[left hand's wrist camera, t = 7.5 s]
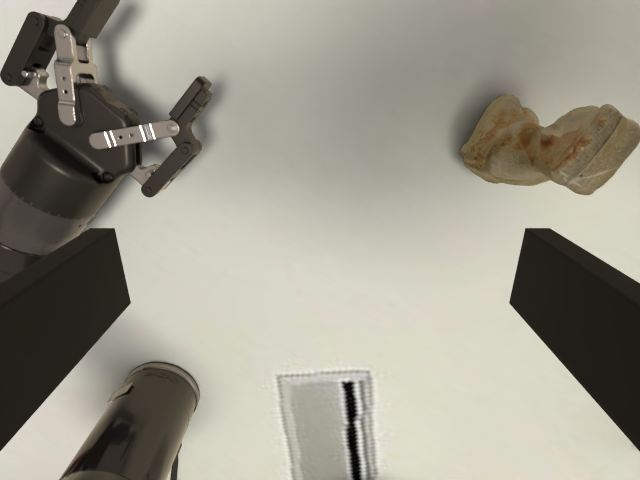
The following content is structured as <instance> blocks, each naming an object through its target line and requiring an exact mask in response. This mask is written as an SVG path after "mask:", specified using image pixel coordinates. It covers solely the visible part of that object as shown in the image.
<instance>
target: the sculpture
mask: <svg viewBox="0 0 640 480" xmlns="http://www.w3.org/2000/svg"><path fill="white" fill-rule="evenodd" d="M639 142H640V126H639V125H638V124H637V123H636V122H635V121H633V120H630V119H627V118H626V117H624V116H623V115H622V114H621V113H620V112H619V111H618V110H617V109H616V108H615V107H613V106H612V105H609V104H606V105H603V106H602V107H601V108H598V107H597V106H587V107H580V108H576V109H573V110H572V111H570V112H568V113H567V114H566V115H564V116H561V117H560V118H559V119H558V120H557V121H556V122H555V123H554V124H552V125H550V126H548V127H546V128H544V127H542V126H540V125H539V120H538V117H537V116H536V114H535V113H534V112H533V111H532V110H530V109H528V108H522V107H521V105H520V102H519V100H518V99H517V98H516V97H514V96H513V95H509V94H507V95H502V96H500V97H498V98H496V99H495V100H494V101H493V102H492V103H491V104H490V105H489V106H488V107H487V109H486V110H485V112H484V113H483V115H482V117H481V118H480V120H479V122H478V124H477V126H476V127H475V129H474V132H473V133H472V135H471V137H470V139H469V140H468V142H467V143H465V144H464V145H463V146H462V148H461V151H460V153H461V155H462V156H463V157H464V158H465V159H464V165H465V166H466V167H467V168H469V169H470V170H471V171H472V172H473V173H475V174H476V175H478V176H479V177H481V178H482V179H484V180H485V181H488V182H492V183H506V184H512V185H526V186H531V185H537V184H540V183H543V182H546V181H549V180H552V181H554V182H555V183H557V184H560V185H563V186H566V187H567V188H569V189H570V190H572V191H573V192H575V193H577V194H581V195H590V194H592V193H593V192H594V191H595V190H597V189H598V188H600V187H601V186H603V185H604V184H605V183H606V182H607V181H608V180H609V179H610V178H611V177H612V176H613V175H614V174H615V172H616V171H617V170H618V169H619V167H620V166H621V165H622V163H623V162H624V161H625V160H626V158H627V157H628V156H629V155H630V154H631V153H632V151H633V150H634V149H635V148H636V147H637V145H638V144H639Z"/></svg>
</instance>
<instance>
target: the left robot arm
mask: <svg viewBox="0 0 640 480" xmlns="http://www.w3.org/2000/svg"><path fill="white" fill-rule="evenodd" d="M130 303H131V302H130V298H129V293H128V288H127V284H126V279H125V275H124V270H123V265H122V261H121V256H120V252H119V247H118V242H117V238H116V233H115V229H114V228H90V229H89V230H87V231H85V232H84V233H82V234H80V235H79V236H77V237H76V238H74V239H72V240H71V241H69V242H67V243H66V244H64V245H62V246H61V247H59V248H58V249H56V250H54V251H53V252H51V253H49V254H48V255H46V256H44V257H43V258H41V259H40V260H38V261H36V262H35V263H33V264H31V265H30V266H28V267H26V268H25V269H23V270H22V271H20V272H18V273H17V274H15V275H13V276H12V277H10V278H8V279H7V280H5V281H4V282H2V283H0V451H1V450H2V449H3V447H4V446H5V445H6V444H7V443H8V442H9V441H10V440H11V438H12V437H13V436H14V435H15V434H16V433H17V432H18V430H19V429H20V428H21V427H22V426H23V425H24V424H25V422H26V421H27V420H28V419H29V418H30V417H31V416H32V415H33V413H34V412H35V411H36V410H37V409H38V408H39V407H40V405H41V404H42V403H43V402H44V401H45V400H46V399H47V397H48V396H49V395H50V394H51V393H52V392H53V391H54V390H55V388H56V387H57V386H58V385H59V384H60V383H61V382H62V380H63V379H64V378H65V377H66V376H67V375H68V374H69V373H70V371H71V370H72V369H73V368H74V367H75V366H76V365H77V363H78V362H79V361H80V360H81V359H82V358H83V357H84V355H85V354H86V353H87V352H88V351H89V350H90V349H91V348H92V346H93V345H94V344H95V343H96V342H97V341H98V340H99V338H100V337H101V336H102V335H103V334H104V333H105V332H106V330H107V329H108V328H109V327H110V326H111V325H112V324H113V323H114V321H115V320H116V319H117V318H118V317H119V316H120V315H121V313H122V312H123V311H124V310H125V309H126V308H127V307H128V306H129V304H130ZM509 303H510V304H511V306H512V307H513V308H514V309H515V310H516V311H517V312H518V313H519V315H520V316H521V317H522V318H523V319H524V320H525V321H526V323H527V324H528V325H529V326H530V327H531V328H532V329H533V330H534V332H535V333H536V334H537V335H538V336H539V337H540V338H541V340H542V341H543V342H544V343H545V344H546V345H547V346H548V348H549V349H550V350H551V351H552V352H553V353H554V354H555V355H556V357H557V358H558V359H559V360H560V361H561V362H562V363H563V365H564V366H565V367H566V368H567V369H568V370H569V371H570V373H571V374H572V375H573V376H574V377H575V378H576V379H577V380H578V382H579V383H580V384H581V385H582V386H583V387H584V388H585V390H586V391H587V392H588V393H589V394H590V395H591V396H592V398H593V399H594V400H595V401H596V402H597V403H598V404H599V405H600V407H601V408H602V409H603V410H604V411H605V412H606V413H607V415H608V416H609V417H610V418H611V419H612V420H613V421H614V422H615V424H616V425H617V426H618V427H619V428H620V429H621V430H622V432H623V433H624V434H625V435H626V436H627V437H628V438H629V440H630V441H631V442H632V443H633V444H634V445H635V446H636V447H637V449H638V450H639V451H640V283H638V282H636V281H635V280H633V279H632V278H630V277H628V276H627V275H625V274H623V273H622V272H620V271H618V270H617V269H615V268H614V267H612V266H610V265H609V264H607V263H605V262H604V261H602V260H600V259H599V258H597V257H596V256H594V255H592V254H591V253H589V252H587V251H586V250H584V249H582V248H581V247H579V246H578V245H576V244H574V243H573V242H571V241H569V240H568V239H566V238H564V237H563V236H561V235H560V234H558V233H556V232H555V231H553V230H551V229H550V228H526V229H525V233H524V238H523V242H522V247H521V252H520V256H519V261H518V265H517V270H516V275H515V279H514V284H513V288H512V293H511V298H510V302H509Z"/></svg>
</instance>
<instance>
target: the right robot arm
mask: <svg viewBox="0 0 640 480" xmlns="http://www.w3.org/2000/svg"><path fill="white" fill-rule="evenodd" d="M119 1H120V0H77V2H76V4H75V5H74V7H73V9H72V10H71V12H70V13H69V15H68V17H67V18H66V19H65V20H63V21H62V20H61V19H59V18H56V17H51V16H48V15H44V14H41V13H38V12H30V13H29V14H28V15H27V17H26V19H25V22H24V24H23V26H22V28H21V30H20V32H19V34H18V36H17V39H16V41H15V43H14V45H13V47H12V49H11V51H10V53H9V55H8V58H7V60H6V62H5V64H4V66H3V68H2V70H1V73H0V77H1V79H2V81H3V82H4V83H5V84H6V85H8V86H18V87H20V88H21V89H23V90H24V91H26V92H27V93H28V94H30V95H31V96H32V97H34V98H35V99H37V113H36V116H35V117H34V118H33V119H32V121H31V122H30V123H29V124H28V125H27V126H26V128H25V129H24V131H23V132H22V134H21V136H20V137H19V139H18V140H17V142H16V144H15V145H14V147H13V148H12V150H11V152H10V153H9V155H8V156H7V158H6V160H5V161H4V163H3V164H2V166H1V168H0V283H2V282H4V281H5V280H7V279H8V278H10V277H12V276H13V275H15V274H17V273H18V272H20V271H22V270H23V269H25V268H26V267H28V266H30V265H31V264H33V263H35V262H36V261H38V260H40V259H41V258H43V257H44V256H46V255H48V254H49V253H51V252H53V251H54V250H56V249H58V248H59V247H61V246H62V245H64V244H66V243H67V242H69V241H71V240H72V239H74V238H76V237H77V236H79V235H80V234H81V232H82V231H83V230H84V229H85V228H86V226H87V225H89V224H90V223H91V222H92V221H93V219H94V218H95V215H96V213H97V212H98V211H99V209H100V208H101V207H102V205H103V204H104V203H105V201H106V200H107V199H108V197H109V196H110V195H111V193H112V192H113V191H114V190H115V188H116V187H117V186H118V184H119V183H120V182H121V180H122V179H123V178H124V176H125V175H127V174H130V175H131V176H132V177H133V178H134V179H136V180H137V181H138V182H139V183H140V184H141V185H142V187H141V191H142V193H143V194H144V195H145V196H146V197H153V196H155V195H156V194H158V193H159V192H161V191H163V190H164V189H165V188H166V187H167V186H168V185H169V184H170V183H171V182H172V181H173V180H174V179H175V178H176V177H177V176H178V175H179V174H180V172H181V171H182V170H183V169H184V168H185V167H186V166H187V165H188V164H189V163H190V162H191V161H192V160H193V159H194V158H195V156H196V155H197V154H198V153H199V152H200V151H201V149H202V145H201V143H200V142H199V141H198V140H196V138H195V137H194V135H193V133H192V131H191V125H192V123H193V122H194V120H195V119H196V118H197V117H198V115H199V114H200V113H201V111H202V110H203V109H204V108H205V106H206V105H207V104H208V103H209V101H210V99H211V95H212V93H210V92H209V91H208V89H209V88H210V86H211V83H210V82H209V81H208V80H207V79H206V78H205V77H201V76H199V77H197V78H196V79H195V80H194V82H193V83H192V84H191V85H190V87H189V88H188V89H187V91H186V92H185V93H184V95H183V96H182V97H181V99H180V100H179V101H178V103H177V104H176V105H175V107H174V108H173V109H172V111H171V112H170V113H169V115H170V116H172V117H171V118H170V120H166V121H160V122H155V123H149V124H143V125H140V122H139V119H138V117H137V116H136V115H137V114H138V113H136V112H135V111H134V110H133V109H132V108H131V107H129V106H127V105H125V104H124V103H122V102H120V101H119V99H118V98H117V97H116V96H115V94H114V93H113V92H112V91H111V90H110V89H108V88H107V87H106V86H101V85H99V84H98V74H97V68H96V66H95V64H94V63H93V60H92V50H91V40H90V37H92V38H97V36H98V35H99V33H100V32H101V30H102V28H103V27H104V25H105V24H106V22H107V21H108V19H109V17H110V16H111V14H112V13H113V11H114V10H115V8H116V7H117V5H118V3H119ZM55 51H57V59H56V60H55V62H54V69H55V76H56V83H57V88H55V89H50V90H49V88H48V87H47V78H49V74H48V73H47V72H46V71H45V70H46V68H47V66H48V64H49V62H50V60H51V58H52V56H53V55H54V53H55ZM77 75H79V79H80V83H78V84H77ZM166 137H171V138H172V139H173V141H174V142H175V144H176V146H177V148H176V149H175V150H174V151H173V152H172V153H171V155H170V156H169V157H168V158H167V159H166V160H165V161H164V162H163V163H162V164H161V166H160V165H158V164H153V165H151V166H148V167H144V166H142V165H141V163H142V149H141V142H144V141H150V140H154V139H160V138H166ZM112 399H113V401H112V402H111V404H110V405H109V407H108V408H107V409H106V411H105V412H104V414H103V415H102V417H101V418H100V420H99V421H98V423H97V424H96V426H95V427H94V429H93V430H92V432H91V433H90V435H89V436H88V438H87V439H86V441H85V442H84V444H83V445H82V447H81V448H80V450H79V451H78V453H77V454H76V456H75V457H74V459H73V460H72V462H71V463H70V464H69V466H68V467H67V469H66V470H65V472H64V473H63V475H62V476H61V478H60V479H59V480H166V479H167V477H168V474H169V472H170V469H171V467H172V470H171V480H176V477H177V468H178V458H177V456H178V453H179V451H180V448H181V446H182V443H181V442H182V439H183V437H184V434H185V432H186V429H187V427H188V425H189V422H190V420H191V417H192V415H193V413H194V411H195V409H196V407H197V404H198V402H199V390H198V387H197V385H196V383H195V381H194V380H193V379H192V378H191V377H190V376H189V375H188V374H187V373H186V372H184V371H183V370H181V369H180V368H177V367H175V366H173V365H169V364H165V363H148V364H144V365H141V366H139V367H137V368H136V369H134V370H133V371H132V372H131V373H130V374H129V376H128V377H127V379H126V380H125V382H124V384H123V386H122V387H121V389H120V390H118V391H116V392H114V393H113V394H112V396H111V397H110V399H109V400H108V402H109V401H110V400H112Z"/></svg>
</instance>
